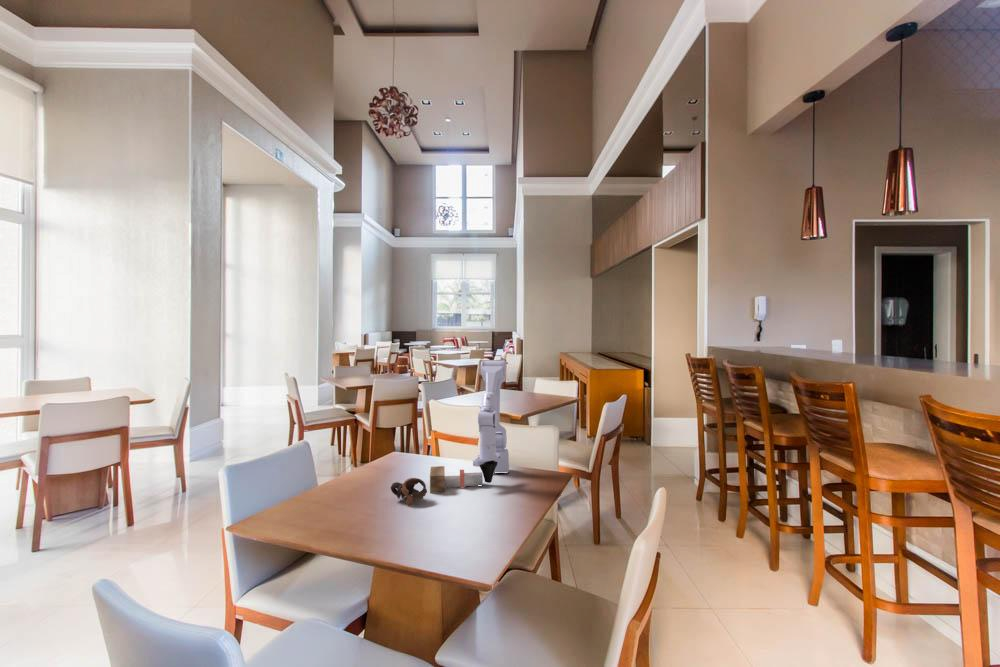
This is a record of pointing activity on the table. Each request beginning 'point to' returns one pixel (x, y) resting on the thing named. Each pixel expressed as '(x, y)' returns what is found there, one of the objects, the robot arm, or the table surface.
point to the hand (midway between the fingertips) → (488, 482)
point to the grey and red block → (464, 480)
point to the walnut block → (437, 479)
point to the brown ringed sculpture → (409, 490)
